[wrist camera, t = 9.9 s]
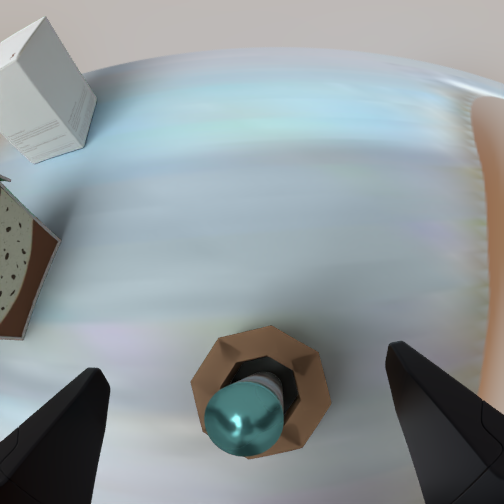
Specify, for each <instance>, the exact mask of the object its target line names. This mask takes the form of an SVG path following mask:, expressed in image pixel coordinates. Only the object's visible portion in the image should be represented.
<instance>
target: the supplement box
mask: <svg viewBox="0 0 504 504" xmlns="http://www.w3.org/2000/svg"><path fill="white" fill-rule="evenodd" d="M96 101H97V98H96V96H95V94H94V93H93V91H92V90H91V88H90V87H89V85H88V84H87V82H86V80H85V79H84V77H83V76H82V74H81V73H80V71H79V70H78V68H77V66H76V65H75V63H74V62H73V60H72V58H71V57H70V55H69V53H68V52H67V50H66V48H65V47H64V45H63V44H62V42H61V40H60V39H59V37H58V36H57V34H56V32H55V30H54V29H53V27H52V26H51V24H50V22H49V20H48V19H47V17H46V16H44V17H43V18H41V19H39V20H37V21H35V22H34V23H32V24H30V25H28V26H27V27H25V28H23V29H21V30H20V31H18V32H16V33H15V34H13V35H12V36H10V37H8V38H7V39H5V40H4V41H2V42H1V43H0V133H1V134H2V135H3V136H4V137H5V138H6V139H7V140H8V141H9V142H10V143H11V144H12V145H13V146H14V147H15V148H16V149H17V150H19V151H20V152H21V153H22V154H23V155H24V156H25V157H26V158H27V159H28V160H29V161H30V162H31V163H32V164H36V163H38V162H41V161H44V160H47V159H49V158H52V157H55V156H58V155H61V154H64V153H68V152H71V151H74V150H77V149H81V148H83V147H84V145H85V141H86V138H87V134H88V130H89V126H90V123H91V119H92V116H93V112H94V109H95V105H96Z"/></svg>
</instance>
